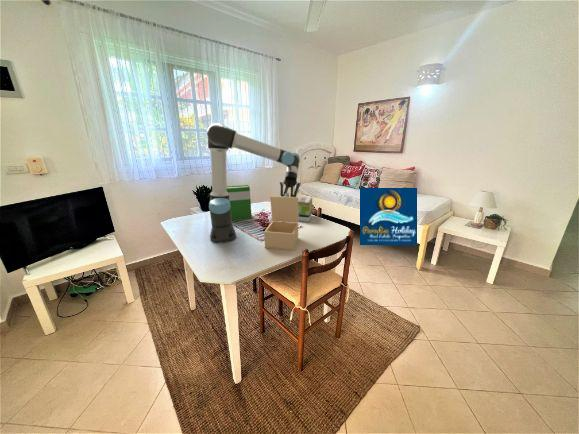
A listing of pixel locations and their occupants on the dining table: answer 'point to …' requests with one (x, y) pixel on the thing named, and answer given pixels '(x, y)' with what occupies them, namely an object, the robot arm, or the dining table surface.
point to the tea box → (304, 208)
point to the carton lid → (284, 208)
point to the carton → (281, 235)
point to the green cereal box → (240, 202)
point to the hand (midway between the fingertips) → (286, 206)
